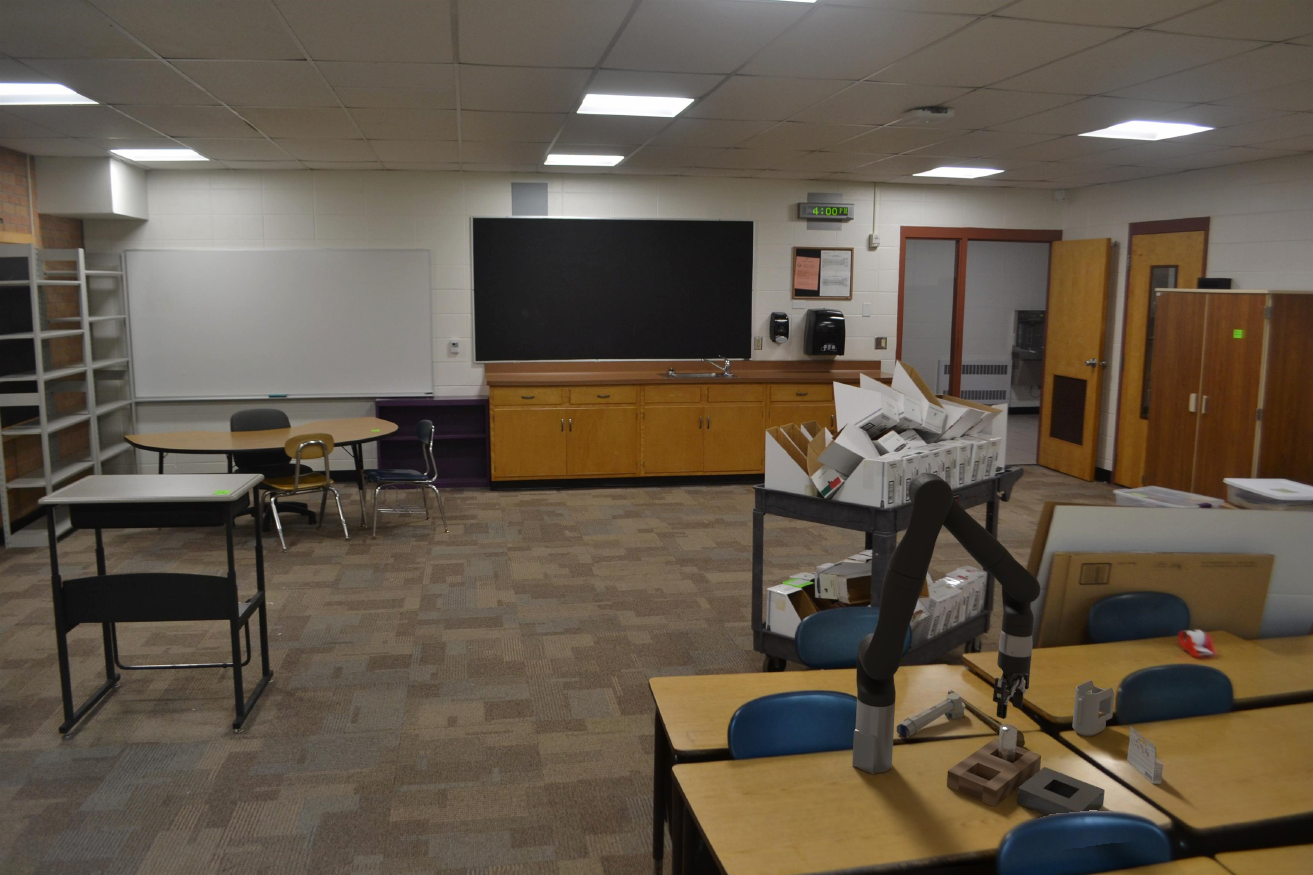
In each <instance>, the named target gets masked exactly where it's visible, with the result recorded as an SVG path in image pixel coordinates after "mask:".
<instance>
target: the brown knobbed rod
mask: <svg viewBox="0 0 1313 875" xmlns="http://www.w3.org/2000/svg"><path fill="white" fill-rule="evenodd" d="M951 693H956V692H955V691H954V690H952V689H949V690H948V692H947V694H948V695H949V694H951ZM960 697H961V696H960ZM961 700H962V702H963V703H964V704H965V708H967V709H968V710H969V711H970V712H972V713H974V714H975V715H977V717H979V718H981V719H982V720H983V721H985V722H986V723H988V724H989V725H990V726H992V727H993V728H995V729H996V730H997V731H999V732H1000V726H1001V725H1003V723H1002V722H1001V721H999V720H997V719H996V718H994V717H992V716H990V715H988V714H986V713H985V712H983V711H982V710H980V709H979V708H978V707H976V706H974V705H973V704H972V703H970V702H969V701H967V700H966V699H965V698H963V697H961ZM1025 744H1026V740H1025V735H1024V733H1022V731H1020V730H1019V729H1017V741H1016V746H1017V747H1020V748H1023V747H1024V746H1025Z"/></svg>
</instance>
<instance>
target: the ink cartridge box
mask: <svg viewBox="0 0 1313 875" xmlns="http://www.w3.org/2000/svg"><path fill="white" fill-rule="evenodd" d="M1140 739H1142V741H1144V743H1145V744H1144V743H1143V742H1142V741H1141V740H1140ZM1127 749H1128V751H1127V759H1126V761H1127V763H1128V764H1129V765H1130V766H1132V767H1133V768H1134V769H1135V770H1136V771H1137V772H1138V773H1139V774H1140V775H1142V776H1143V777H1144V778H1145V779H1146V780H1148V782H1149V783H1151V784H1153V785H1161V784H1162V778H1163V770H1164V764H1163V763H1162V762H1161V761H1160V760H1158V759H1157V758H1156V755H1157V746H1156V745H1155V744H1154V743H1152V742H1151V741H1150V740H1149V739H1147V738H1146V737H1144V735H1142V734H1141V733H1139V731H1137V730H1136V729H1135V728H1133V727H1132V726H1129V744H1128V748H1127Z"/></svg>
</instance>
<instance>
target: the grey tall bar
mask: <svg viewBox="0 0 1313 875" xmlns="http://www.w3.org/2000/svg"><path fill="white" fill-rule="evenodd" d="M1002 724H1003V723H1002ZM1017 730H1018V728H1017V727H1016V726H1015V725H1013V724H1006V723H1004V724H1003V725H1001V726H1000V731H999V736H998V739H999V748H998V758H1000V759H1003V760H1006V761H1008V762H1011V763H1014V762H1015V755H1016V741H1017Z"/></svg>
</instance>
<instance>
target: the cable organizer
mask: <svg viewBox="0 0 1313 875" xmlns="http://www.w3.org/2000/svg"><path fill="white" fill-rule="evenodd" d="M1114 700H1115V692H1114V688H1113V687H1112V686H1111V687H1108V688H1106V689H1104V688H1101V687H1099V686H1095V684H1094V682H1093V680H1092V679H1090V680H1087V681H1084V682H1083V683H1080V684H1078V685H1076V687H1075V693H1074V704H1073V714H1072V715H1073V716H1072V717H1073V718H1072V725H1071V726H1072V728H1073V730H1074V731H1075V732H1076V733H1077V734H1079V735H1081V736H1086V737H1091V736H1092V737H1093V736H1095V735H1097V734H1099V733H1101V732H1103V731H1104V730H1105V729H1106V726H1107V725H1106V724H1107V721H1108V720H1110V719H1112V718H1113V713H1114ZM1099 713H1101V714H1104V715H1102V716H1100V715H1099Z"/></svg>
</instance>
